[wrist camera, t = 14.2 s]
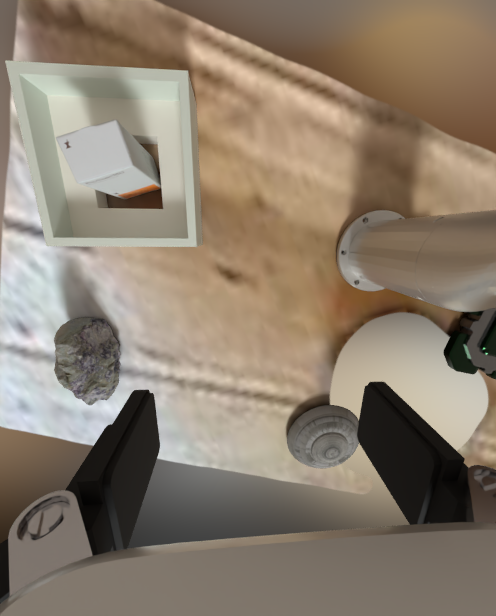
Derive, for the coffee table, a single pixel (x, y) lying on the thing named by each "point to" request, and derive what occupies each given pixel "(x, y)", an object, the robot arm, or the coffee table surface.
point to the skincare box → (110, 160)
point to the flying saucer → (324, 436)
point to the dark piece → (474, 344)
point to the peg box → (137, 121)
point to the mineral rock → (87, 359)
